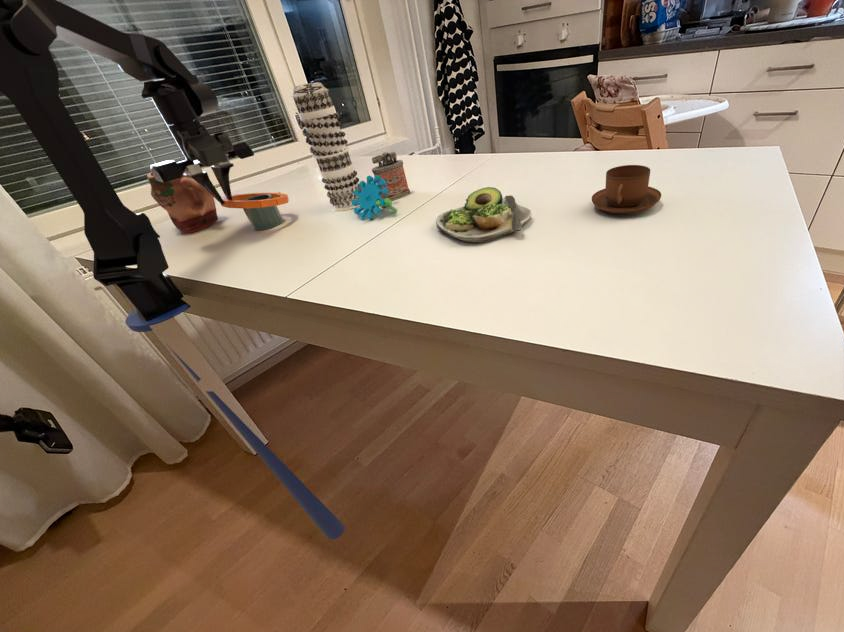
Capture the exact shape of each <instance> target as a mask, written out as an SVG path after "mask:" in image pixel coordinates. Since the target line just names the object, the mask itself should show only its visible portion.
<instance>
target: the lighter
mask: <svg viewBox="0 0 844 632" xmlns="http://www.w3.org/2000/svg"><path fill="white" fill-rule="evenodd" d="M371 161H372V165H373V164H378V165H377V166H375V167H373V168H371V172H372V174H373V175H374V176H375V175H378V176H379V177H380V178H381V179H384V180H385V181H386V186H385V187H383V186H381V187H380V189H383V188H387V189H388V190H389V191H388V195H384V194H383V193H382V194H381V198H384V199H385V198H388V199H390V200H391V201H392V202H393V201H395V200H399V199H402V198H403V197H404V198H405V196H408V195H410V194H411V191H410V188H409V185H408V180H407V177H406V172H405V168H404V162H403V160H402V159H398V158H397V153H396V151H392V152H386V151H384V152H382V153H381V154H378V155H375V156H372V157H371ZM380 181H381V180H380ZM380 181H379V182H380ZM379 182H377V183H376V184H378V183H379Z"/></svg>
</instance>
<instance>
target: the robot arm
mask: <svg viewBox="0 0 844 632" xmlns="http://www.w3.org/2000/svg"><path fill="white" fill-rule="evenodd" d="M56 39H58V40H60V41H62V42H65V43H67V44H69V45H72V46H75V47H77V48H79V49H82V50H85V51H87V52H90V53H92V54H94V55H97V56H100V57H103V58H105V59H107V60H108V61H109V60H110V61H111V62H113V63H115V64H117V65H118V67H119V69H120V70H121V71H122V72H123V73H125V74H126V75H128V76H130V77H131V78H133V79H135V80H137V81H139V82H141V83H143V87H142V90H141V94H140V96H141V98H143V99H146V100H147V99H151V100H152V102H153V103H154V106H155V107H156V109H157V110H158V112H159V114H160V116H161V117H162V119H163V121H164V123H165V124H166V126H167V128H168V132H169V134H170V136H171V137H172V138H174V141H175V143H176V144H177V146H178V147H179V149H180V151H181V155H182V157H183V159H184V160H181V161H178V162H177V161H176V160H170V159H168V160H163V161H160V162H157V163H153V164H150V167H149V170H150V173H152V174H153V176H154V177H155V179H156V180H157V181H161V182H168V181H171V180H175V179H178V178H181V177H182V174H183V172H184V173H185V174H184V176H185V177H187V178H191V179H194V180H195V181H196V182H198V183H199V184H200V185H202V186H203V187H204V188H205V189H206V190H207V191H208V192H209V193H210V194H211V195H212V196H213V197H214V200H216V201H217V202H219V204H220V205H221V204H224V202H223V200H222V195H220V193H219V192H218V190H217V188H216V187H215V185H214V184H213V181H211V179H210V177H209V174H208V172H207V171H203V169H202V167H205V168H206V167H207V168H209V167H210V169H211V170H212V173H213V174H214V177H215V178H216V180H217V182H218V184H219V186H220V188H221V191H222V192H223V194H224V197H227V199H229V200H232V196H231V195H232V191H231V183H230V170H231V168H233V167H235V166H234V165H235V164H234V163H231V161H230V159H232V158H238V159H239V160H244V159H247V158H251V157H254V156H255V152H254V151H253V148H252V147H251V145H250V144H249V143H248V142H246V141H238V140H236V141H231V138H230V137H229V136H228V133H226V132H225V131H224V130H222V131H218V132H215V133H214V134H213V135H212V134H210V133H209V131H208V130H207V128H206V126H205V125H204V124H202V122H201V121H200V119H199V118H200V117H204V116H207V115H212V114H214V113H215V112H216V111H217V110H218V107H219V101H218V100H219V99H218V97H217V95H216V93H215V92H214V91H213V89H211V87H210V86H209V85H207V84H206V83H204V82H202V81H200V80H199V77H198V76H197V74H193V73H192V72H191V71H190V70H189V69H188V68H187V67H186V66H185V64H184V63H183V62H182V61H181V60H180V59H179V58H178V57H177V56H176V54H174V52H173V51H172V50H171V49H170V48H169V47H168V46H167V45H166V44H165V43H164V42H163V41H162V40H160V39H159V38H156V37H152V36H149V35H145V34H140V33H130V32H125V31H122V30H119V29H117V28H116V27H113V26H111V25H109V24H107V23H105V22H103V21H101V20H99V19H97V18H95V17H93V16H90V15H88V14H87V13H85V12H82V11H80V10H78V9H76V8H74V7H72V6H70V5H69V4H66V3H64V2H62V1H60V0H0V94H1V95H3V97H6V98H7V99H8V100H9V101H10V102H11V103H12V104H13V106H14V107H15V109H16V111H17V112H18V113H19V115H20V117H21V118H22V119H23V121H24V123H25V124H26V125H27V128H28V129H29V130H30V132H31V133H32V135H33V136H34V138H35V140H36V141H37V143H38V144H39V146H40V147H41V149H42V150H43V153H45V155H46V156H47V158H48V160H49V161H50V162H51V164H52V166H53V167H54V168H55V170H56V172H57V173H58V175H59V177H60V178H61V179H62V181H63V183H64V184H65V186H66V188H67V189H68V190H69V192H70V193H71V195H72V196H73V198H74V200H75V201H76V202H77V204H78V205H79V207H80V209H81V211H82V213H83V219H84V220H83V233H84V235H85V238H86V240H87V242H88V243H89V246H90V248H91V250H92V252H93V271H92V272H93V274H92V275H93V279H94V280H95V281H96V282H98V283H100V284H101V285H103V286H105V287H109V286H113V285H115V286H116V287H117V288H118V289H119V290H120V292H121V293H122V295H124V297H125V298H126V299H127V301H128V302H129V303H130V304H131V305H132V306H133V307H134V309H136V311H137V313H138V314H139V315H140V316H141V317H142V318H143V319H144V320H145V321H150V320H152V319H154V318H157V317H159V316H161V315H163V314H165V313H167V312H169V311H171V310H174V309H176V308H178V307H180V306H182V305H184V304H186V303H187V302H186V301H185V300H184V299H183V298H184V294H183V293H182V292H181V290H180V289H179V287H178V286H177V285H176V283H175V281H173V279H172V277H171V276H169V275H168V274H167V273H164V272H166V271H167V270H168V269H169V264H168V261H167V258H166V256H165V253H164V250H163V248H162V243H161V242H160V240H159V239H160V238H161V235H159V233H158V232H157V231H156V230H155V228H154V227H153V225H152V222H151V220H150V218H149V216H148V215H147V214H145V213H144V212H140V213H135V212H134V211H132V210H131V209H130V208H128V207H127V206H126V205H124V203H123V202H122V200H121V199H120V197H119V195H118V194H117V192H116V190H115V189H114V186H113V185H112V183H111V182H110V180H109V178H108V176H107V175H106V173H105V172H104V170H103V168H102V166H101V165H100V163H99V161H98V160H97V158H96V156H95V155H94V153H93V151H92V150H91V148H90V146H89V144H88V143H87V141H86V139H85V138H84V136H83V135H82V133H81V130H80V129H79V127H78V126H77V124H76V123H75V121H74V119H73V117H72V115H71V114H70V112H69V111H68V109H67V107H66V106H65V104H64V102H63V101H62V99H61V97H60V79H59V77H60V76H59V69H58V67H57V64H56V62H55V59H54V58H53V55H52V53H51V52H50V51H51V50H50V49H49V48H50V46H51V45H52V44H53V43H54V42H55V40H56ZM131 266H136V267H133V268H127V267H131Z"/></svg>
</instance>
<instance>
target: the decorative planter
mask: <svg viewBox="0 0 844 632" xmlns="http://www.w3.org/2000/svg"><path fill="white" fill-rule="evenodd" d="M184 174H185V173H184V172H183V174H182V177H181V178H178V179H175V180H171V181H168V182H161V181H157V180H156V179H155V177H154V176H153V174H152V173H151V172H149V173H148V174H147V175H146V178H147V181H148V184H149V185H150V195H151V197H152V198H153V200H154V202H156V203H157V204H158V205H159V206H160V207H161V208H162V209H163V210H164V211H166V212H167V214H168V216H169V219H170V220H171V223H172V224H173V225H174V227H175V228H176V229H177V230H179V232H182V233H194V232H197V231H200V230H202V229H205V228H207V227H210V226H211V225H213V224H215V223H216V222H217V221H218V220H219V217H218V213H217V208H216V202H215V198H214V197H213V196H212V195H211V194H210V193H209V192H208V191H207V190H206V189H205V188H204V187H203V186H202V185H200V184H199V183H198V182H196V181H195V180H194V179H191V178H187V177H185V176H184Z"/></svg>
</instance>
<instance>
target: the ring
mask: <svg viewBox="0 0 844 632" xmlns="http://www.w3.org/2000/svg"><path fill="white" fill-rule="evenodd" d="M263 194H271V195H272V197H273V198H272V199H264V200H248V201H244V200H246V199H248V198H251V197H254V196H258V195H263ZM231 196H232V200H229V199H227V197H226V196H221V198H222V200H223V202H224V204H221V203H220V206H221V207H223V208H228V209H243V208H261V207H270V206H277V207H278V206H281V205H286V204H288V203H289V202H290V200H289V195H288V194H286V193H283V192H282V193H281V192H249V193H239V194H238V193H237V194H231Z"/></svg>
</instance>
